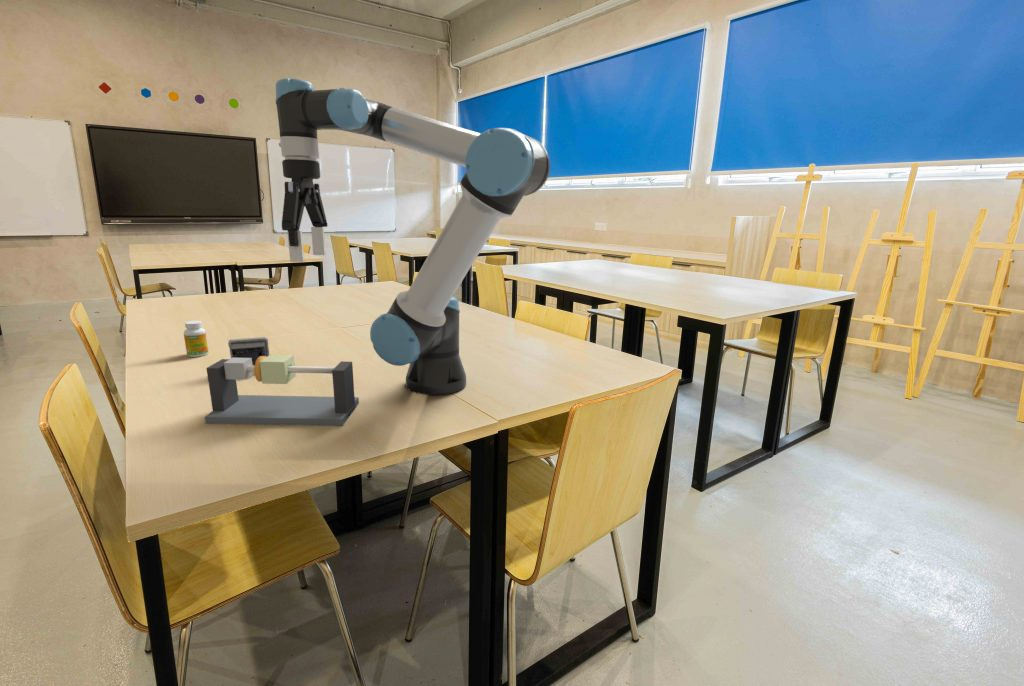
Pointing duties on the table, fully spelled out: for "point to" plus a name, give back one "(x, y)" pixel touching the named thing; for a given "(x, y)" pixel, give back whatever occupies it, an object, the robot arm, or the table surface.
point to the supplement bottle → (195, 339)
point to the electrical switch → (249, 348)
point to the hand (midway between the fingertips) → (309, 258)
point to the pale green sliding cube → (276, 369)
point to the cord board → (277, 397)
